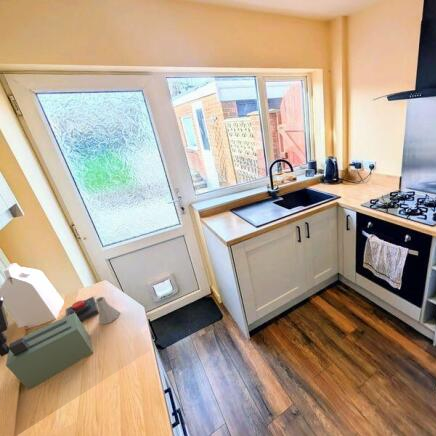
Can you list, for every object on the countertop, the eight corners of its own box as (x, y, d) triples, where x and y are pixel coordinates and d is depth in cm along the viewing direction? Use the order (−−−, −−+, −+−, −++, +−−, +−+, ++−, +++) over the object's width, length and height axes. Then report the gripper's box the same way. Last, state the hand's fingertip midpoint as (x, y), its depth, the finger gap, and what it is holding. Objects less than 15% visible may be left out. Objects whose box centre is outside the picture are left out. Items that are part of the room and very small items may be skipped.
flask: (95, 323, 100) (84, 305, 96) (110, 310, 106) (100, 292, 102) (109, 325, 98) (98, 306, 94) (124, 311, 104) (114, 293, 100)
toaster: (30, 366, 84) (9, 342, 79) (89, 335, 94) (74, 312, 89) (28, 390, 77) (5, 365, 72) (93, 353, 87) (77, 328, 82)
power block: (68, 312, 107) (63, 305, 106) (95, 300, 113) (91, 293, 112) (69, 327, 99) (64, 320, 97) (99, 313, 105) (95, 306, 103)
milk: (32, 312, 110) (-2, 264, 99) (64, 301, 115) (34, 255, 104) (21, 331, 100) (-20, 280, 89) (56, 318, 105) (21, 269, 94)
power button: (73, 307, 105) (71, 304, 104) (84, 302, 107) (82, 298, 106) (74, 311, 102) (72, 308, 101) (85, 306, 104) (83, 303, 104)
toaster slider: (16, 351, 76) (9, 343, 74) (29, 345, 78) (22, 337, 76) (15, 356, 74) (8, 348, 73) (28, 349, 76) (22, 341, 74)
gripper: (-97, 312, 57) (-30, 376, 67) (-15, 283, 65) (34, 345, 74) (-85, 297, 62) (-24, 359, 72) (-10, 272, 70) (35, 331, 80)
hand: (5, 352), depth 73 cm, fingers closed
